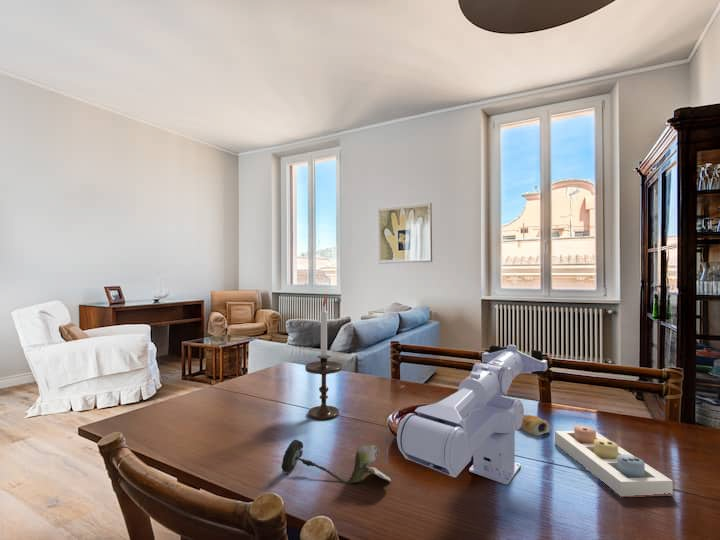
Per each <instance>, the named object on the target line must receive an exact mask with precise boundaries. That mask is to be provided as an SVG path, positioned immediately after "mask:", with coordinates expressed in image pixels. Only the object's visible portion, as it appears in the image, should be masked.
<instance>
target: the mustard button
mask: <svg viewBox="0 0 720 540" xmlns="http://www.w3.org/2000/svg"><path fill="white" fill-rule="evenodd" d="M609 440H610V439H608V440H605V439H595V440H594V454H596V455H597V456H598V457H600V458H601V459H617V456H618V446H619V444H618V443H617V442H615V441H612V440H610V441H609Z"/></svg>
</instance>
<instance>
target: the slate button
mask: <svg viewBox="0 0 720 540" xmlns="http://www.w3.org/2000/svg"><path fill="white" fill-rule="evenodd" d="M617 471H619V472H620V473H621V474H623V475H624V476H625V477H627V478H645V462H644V461H643V459H641V458H640V457H637V456H635V457H634V455H633V456H631V455H625V454H621V455H618V456H617Z"/></svg>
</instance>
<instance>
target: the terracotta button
mask: <svg viewBox="0 0 720 540" xmlns="http://www.w3.org/2000/svg"><path fill="white" fill-rule="evenodd" d="M573 431H574V439H575V440H577V441H578V442H579V443H581V444H594V440H595V439H596V432H597V431H596V429H595V428H592V427H589V426H585V425H576V426H574V427H573Z"/></svg>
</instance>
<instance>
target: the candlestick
mask: <svg viewBox="0 0 720 540" xmlns="http://www.w3.org/2000/svg"><path fill="white" fill-rule="evenodd" d="M326 303H327V296H325V298H324V300H323V303H322V310H321V311H320V355H317V357H316V358H318V359H320V361H312V362H309V363H307V364H305V372H307V373H309V374H315V375H321V386H320V387H318V390H319V393H321V394H320V396H319V399H320V400H321V404H320V405H317V406H314V407H312V408H310V409H309V410H308V417H309V418H310V419H312V420H314V421H315V420H316V421H330V420H333V419H336V418H338V417H339V415H340V409H339V408H337V407H336V406H331V405H327V399H328V397H329V396H328V395H327V393H328V392H329V387H328V386H327V375H329V374H336V373H339V372H341V371H343V364H342V363H340V362H336V361H332V360H328V358H331V355H328V311H327V310H326Z"/></svg>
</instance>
